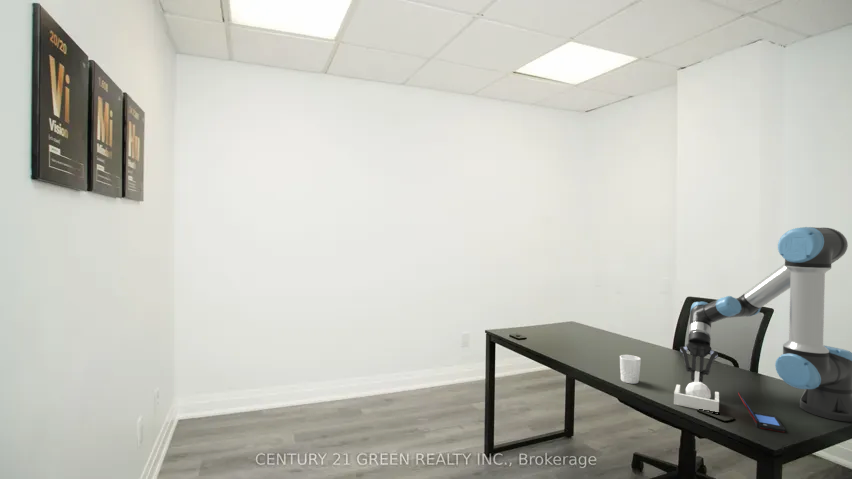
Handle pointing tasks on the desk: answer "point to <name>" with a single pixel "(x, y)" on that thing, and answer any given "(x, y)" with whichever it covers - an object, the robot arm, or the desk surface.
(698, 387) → the geometric ball
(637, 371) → the white cup
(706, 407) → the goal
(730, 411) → the desk surface
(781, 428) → the handheld game console
